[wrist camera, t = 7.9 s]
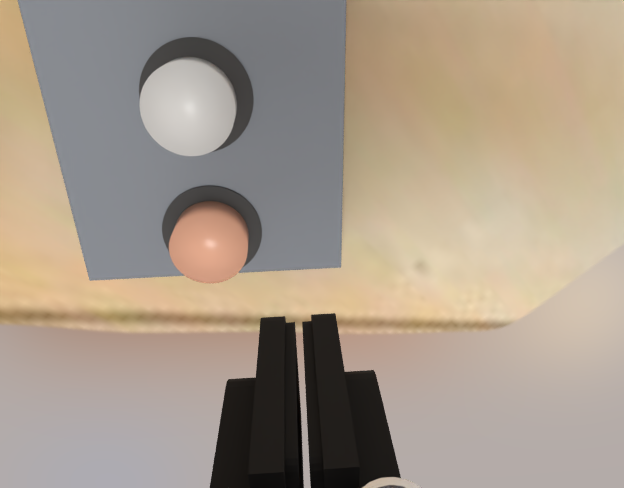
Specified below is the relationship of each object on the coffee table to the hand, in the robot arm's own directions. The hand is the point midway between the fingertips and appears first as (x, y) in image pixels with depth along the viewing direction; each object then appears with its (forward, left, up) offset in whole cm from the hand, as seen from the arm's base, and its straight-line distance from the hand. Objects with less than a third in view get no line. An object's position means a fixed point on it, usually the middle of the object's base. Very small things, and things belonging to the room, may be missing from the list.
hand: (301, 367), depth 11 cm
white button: (+4, -3, -17) cm, 18 cm away
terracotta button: (+4, +5, -18) cm, 19 cm away
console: (+4, -3, -23) cm, 23 cm away
